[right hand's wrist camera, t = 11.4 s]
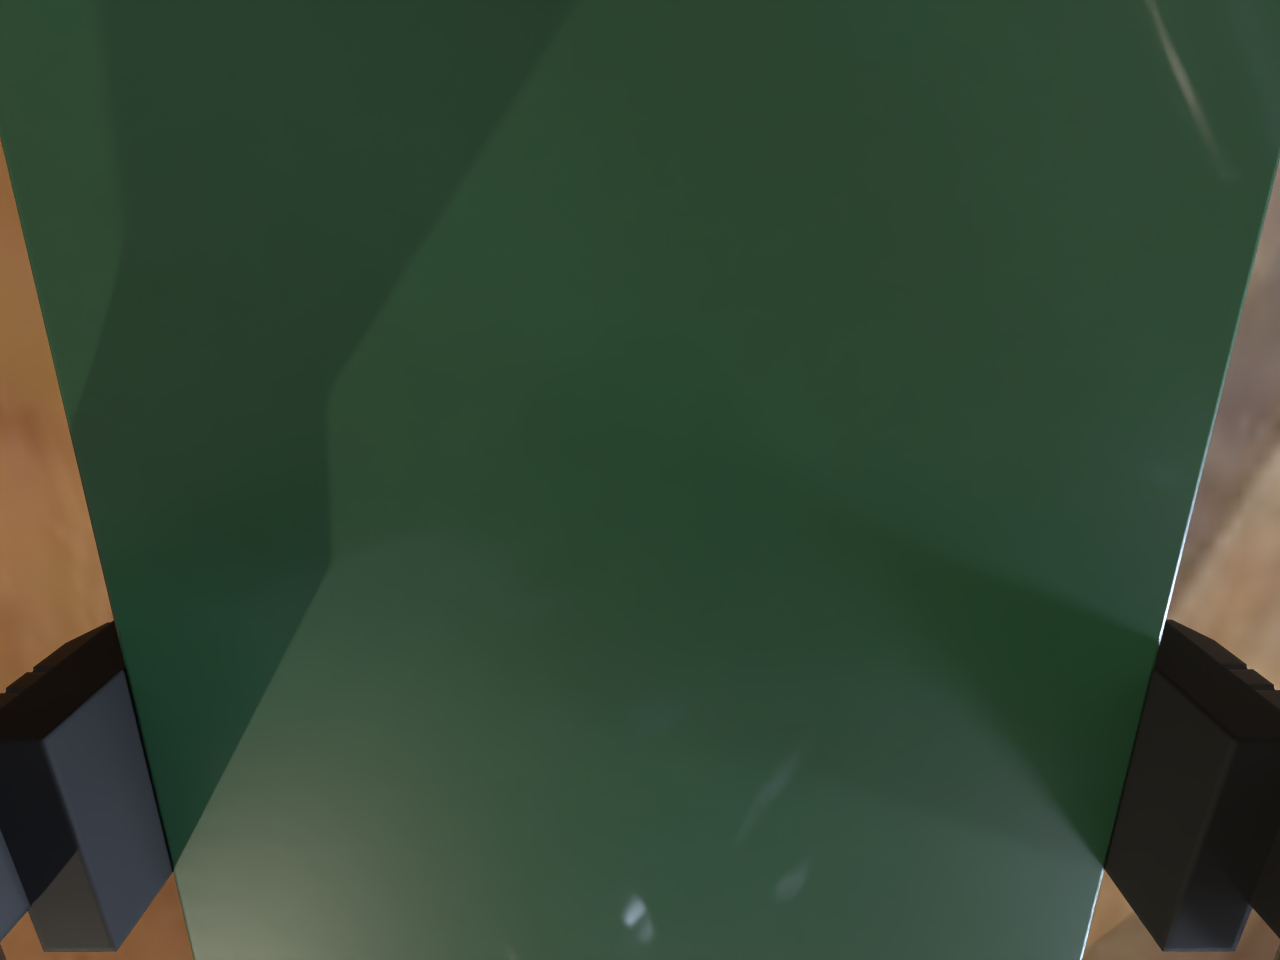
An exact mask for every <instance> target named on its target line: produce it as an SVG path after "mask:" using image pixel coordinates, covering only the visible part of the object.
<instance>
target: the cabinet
mask: <svg viewBox="0 0 1280 960" xmlns="http://www.w3.org/2000/svg"><path fill="white" fill-rule="evenodd" d="M0 137H1V142H2V146H3V150H4V154H5V159H6V163H7V167H8V171H9V176H10V180H11V184H12V188H13V193H14V197H15V201H16V205H17V210H18V214H19V218H20V222H21V227H22V231H23V235H24V239H25V244H26V248H27V252H28V256H29V261H30V265H31V269H32V273H33V277H34V282H35V286H36V290H37V294H38V299H39V303H40V307H41V311H42V316H43V320H44V324H45V328H46V333H47V337H48V341H49V345H50V350H51V354H52V358H53V362H54V367H55V371H56V375H57V379H58V384H59V388H60V392H61V396H62V401H63V405H64V409H65V413H66V418H67V422H68V426H69V430H70V435H71V439H72V443H73V447H74V452H75V456H76V460H77V464H78V469H79V473H80V477H81V481H82V486H83V490H84V494H85V498H86V503H87V507H88V511H89V515H90V520H91V524H92V528H93V532H94V537H95V541H96V545H97V549H98V554H99V558H100V562H101V566H102V571H103V575H104V579H105V583H106V588H107V592H108V596H109V600H110V605H111V609H112V613H113V617H114V622H115V626H116V630H117V634H118V639H119V643H120V647H121V651H122V656H123V660H124V664H125V668H126V673H127V677H128V681H129V685H130V690H131V694H132V698H133V702H134V707H135V711H136V715H137V719H138V724H139V728H140V732H141V736H142V741H143V745H144V749H145V753H146V758H147V762H148V766H149V770H150V775H151V779H152V783H153V787H154V792H155V796H156V800H157V804H158V809H159V813H160V817H161V821H162V826H163V830H164V834H165V838H166V843H167V847H168V851H169V855H170V860H171V864H172V868H173V872H174V877H175V881H176V885H177V889H178V894H179V898H180V902H181V906H182V911H183V915H184V919H185V923H186V928H187V932H188V936H189V940H190V945H191V949H192V953H193V957H194V959H195V960H1082V958H1083V954H1084V950H1085V945H1086V941H1087V937H1088V933H1089V929H1090V925H1091V921H1092V917H1093V913H1094V909H1095V905H1096V901H1097V897H1098V893H1099V889H1100V885H1101V881H1102V877H1103V872H1104V868H1105V864H1106V860H1107V856H1108V852H1109V848H1110V844H1111V840H1112V836H1113V832H1114V828H1115V824H1116V820H1117V816H1118V812H1119V808H1120V804H1121V800H1122V795H1123V791H1124V787H1125V783H1126V779H1127V775H1128V771H1129V767H1130V763H1131V759H1132V755H1133V751H1134V747H1135V743H1136V739H1137V735H1138V731H1139V727H1140V722H1141V718H1142V714H1143V710H1144V706H1145V702H1146V698H1147V694H1148V690H1149V686H1150V682H1151V678H1152V674H1153V670H1154V666H1155V662H1156V658H1157V654H1158V649H1159V645H1160V641H1161V637H1162V633H1163V629H1164V625H1165V621H1166V617H1167V613H1168V609H1169V605H1170V601H1171V597H1172V593H1173V589H1174V585H1175V581H1176V577H1177V572H1178V568H1179V564H1180V560H1181V556H1182V552H1183V548H1184V544H1185V540H1186V536H1187V532H1188V528H1189V524H1190V520H1191V516H1192V512H1193V508H1194V504H1195V499H1196V495H1197V491H1198V487H1199V483H1200V479H1201V475H1202V471H1203V467H1204V463H1205V459H1206V455H1207V451H1208V447H1209V443H1210V439H1211V435H1212V431H1213V427H1214V422H1215V418H1216V414H1217V410H1218V406H1219V402H1220V398H1221V394H1222V390H1223V386H1224V382H1225V378H1226V374H1227V370H1228V366H1229V362H1230V358H1231V354H1232V349H1233V345H1234V341H1235V337H1236V333H1237V329H1238V325H1239V321H1240V317H1241V313H1242V309H1243V305H1244V301H1245V297H1246V293H1247V289H1248V285H1249V281H1250V277H1251V272H1252V268H1253V264H1254V260H1255V256H1256V252H1257V248H1258V244H1259V240H1260V236H1261V232H1262V228H1263V224H1264V220H1265V216H1266V212H1267V208H1268V204H1269V199H1270V195H1271V191H1272V187H1273V183H1274V179H1275V175H1276V171H1277V167H1278V163H1279V159H1280V0H0Z"/></svg>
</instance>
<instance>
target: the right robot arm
mask: <svg viewBox="0 0 1280 960" xmlns="http://www.w3.org/2000/svg"><path fill="white" fill-rule="evenodd" d="M33 669H34V670H33V672H27V673H25V674H24V675H23V676H21V677H20V678H19V679H17V680H16V681H15V682H13V683H12V684H11V685H10V686H8V687H7V688H6V692H5V693H0V942H1V941H2V939H3V938H4V937H5V936H6V935H7V934H8V933H9V931H10V930H11V929H12V928H13V927H14V926H15V925H16V923H17V922H18V921H19V920H20V919H21V918H22V917H23V915H24V914H25V913H26V912H27V911H28V912H29V915H30V917H31V920H32V922H33V925H34V927H35V930H36V932H37V935H38V937H39V940H40V943H41V945H42V948H43V950H44V952H116V951H117V950H118V949H119V947H120V946H121V944H122V943H123V942H124V940H125V939H126V937H127V936H128V934H129V933H130V932H131V930H132V929H133V927H134V926H135V924H136V923H137V922H138V920H139V919H140V917H141V916H142V915H143V913H144V912H145V910H146V909H147V907H148V906H149V905H150V903H151V902H152V900H153V899H154V898H155V896H156V895H157V893H158V892H159V890H160V889H161V888H162V886H163V885H164V883H165V882H166V881H167V879H168V878H169V876H170V875H171V873H172V872H173V868H172V864H171V860H170V855H169V851H168V847H167V843H166V838H165V834H164V830H163V826H162V821H161V817H160V813H159V809H158V804H157V800H156V796H155V792H154V787H153V783H152V779H151V775H150V770H149V766H148V762H147V758H146V753H145V749H144V745H143V741H142V736H141V732H140V728H139V724H138V719H137V715H136V711H135V707H134V702H133V698H132V694H131V690H130V685H129V681H128V677H127V673H126V668H125V664H124V660H123V656H122V651H121V647H120V643H119V639H118V634H117V630H116V626H115V622H114V621H112V622H108V623H106V624H104V625H102V626H100V627H98V628H96V629H94V630H92V631H90V632H87V633H85V634H83V635H81V636H79V637H77V638H75V639H73V640H71V641H69V642H67V643H65V644H64V645H63V646H61V647H60V648H59V649H57V650H56V651H55V652H53V653H52V654H51V655H49V656H48V657H47V658H45V659H44V660H43V661H41V662H40V663H39V664H37V665H36V666H35V667H33ZM1104 869H1105V870H1106V872H1107V873H1108V875H1109V876H1110V877H1111V879H1112V880H1113V882H1114V883H1115V885H1116V886H1117V887H1118V889H1119V890H1120V892H1121V893H1122V894H1123V896H1124V897H1125V899H1126V900H1127V902H1128V903H1129V904H1130V906H1131V907H1132V909H1133V910H1134V911H1135V913H1136V914H1137V916H1138V917H1139V919H1140V920H1141V921H1142V923H1143V924H1144V926H1145V927H1146V928H1147V930H1148V931H1149V933H1150V934H1151V936H1152V937H1153V938H1154V940H1155V941H1156V943H1157V944H1158V945H1159V947H1160V948H1161V950H1162V951H1235V950H1236V947H1237V945H1238V942H1239V940H1240V937H1241V935H1242V932H1243V930H1244V927H1245V924H1246V922H1247V919H1248V917H1249V914H1250V912H1251V909H1252V907H1253V909H1254V910H1255V911H1256V912H1257V913H1258V914H1259V915H1260V917H1261V918H1262V919H1263V920H1264V921H1265V922H1266V923H1267V925H1268V926H1269V927H1270V928H1271V929H1272V930H1273V931H1274V932H1275V934H1276V935H1277V936H1278V937H1279V938H1280V690H1275V689H1274V685H1273V684H1272V683H1271V682H1269V681H1268V680H1267V679H1265V678H1264V677H1263V676H1261V675H1260V674H1258V673H1257V672H1256V671H1254V670H1253V669H1247V667H1246V664H1245V663H1244V662H1242V661H1241V660H1240V659H1238V658H1237V657H1236V656H1234V655H1233V654H1232V653H1230V652H1229V651H1228V650H1226V649H1225V648H1224V647H1222V646H1221V645H1220V644H1218V643H1217V642H1216V641H1214V640H1212V639H1210V638H1208V637H1206V636H1204V635H1202V634H1200V633H1198V632H1196V631H1194V630H1192V629H1190V628H1188V627H1186V626H1184V625H1182V624H1179V623H1177V622H1175V621H1173V620H1166V621H1165V625H1164V629H1163V633H1162V637H1161V641H1160V645H1159V649H1158V654H1157V658H1156V662H1155V666H1154V670H1153V674H1152V678H1151V682H1150V686H1149V690H1148V694H1147V698H1146V702H1145V706H1144V710H1143V714H1142V718H1141V722H1140V727H1139V731H1138V735H1137V739H1136V743H1135V747H1134V751H1133V755H1132V759H1131V763H1130V767H1129V771H1128V775H1127V779H1126V783H1125V787H1124V791H1123V795H1122V800H1121V804H1120V808H1119V812H1118V816H1117V820H1116V824H1115V828H1114V832H1113V836H1112V840H1111V844H1110V848H1109V852H1108V856H1107V860H1106V864H1105V868H1104ZM0 960H6V957H5V955H4V952H3V950H2V948H1V945H0ZM1274 960H1280V945H1279V948H1278V950H1277V952H1276V955H1275V957H1274Z"/></svg>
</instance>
